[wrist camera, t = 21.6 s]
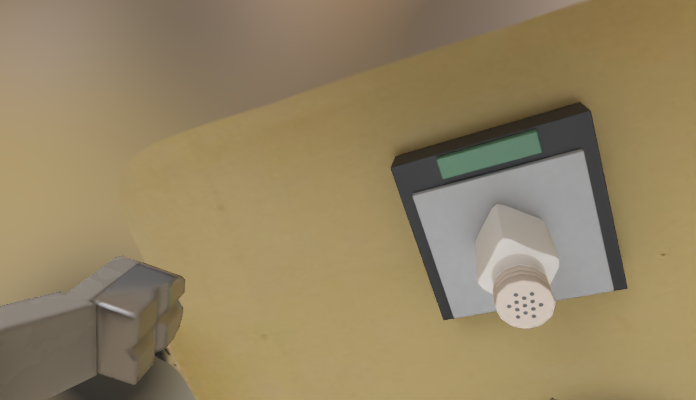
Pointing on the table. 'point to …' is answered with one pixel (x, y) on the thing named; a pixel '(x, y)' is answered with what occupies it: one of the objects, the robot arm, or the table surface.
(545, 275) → the pepper shaker
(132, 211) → the table surface
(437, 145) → the scale
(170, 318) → the robot arm
